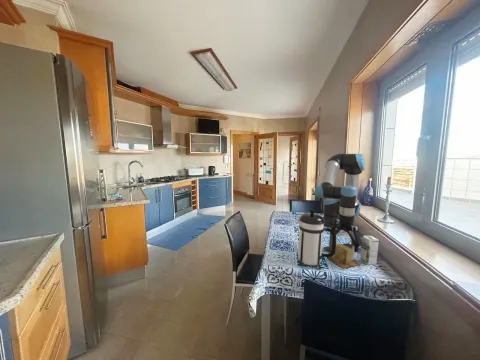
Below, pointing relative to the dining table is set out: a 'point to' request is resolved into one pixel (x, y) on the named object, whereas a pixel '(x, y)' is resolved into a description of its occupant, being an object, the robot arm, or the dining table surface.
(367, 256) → the syrup box
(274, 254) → the dining table surface
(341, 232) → the stand
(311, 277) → the dining table surface
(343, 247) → the c link
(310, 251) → the coffee press
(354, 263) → the coaster
